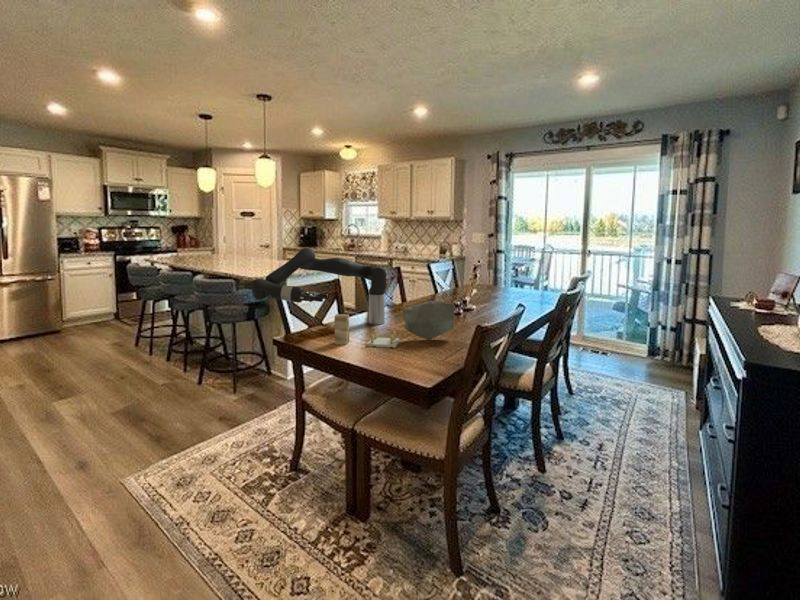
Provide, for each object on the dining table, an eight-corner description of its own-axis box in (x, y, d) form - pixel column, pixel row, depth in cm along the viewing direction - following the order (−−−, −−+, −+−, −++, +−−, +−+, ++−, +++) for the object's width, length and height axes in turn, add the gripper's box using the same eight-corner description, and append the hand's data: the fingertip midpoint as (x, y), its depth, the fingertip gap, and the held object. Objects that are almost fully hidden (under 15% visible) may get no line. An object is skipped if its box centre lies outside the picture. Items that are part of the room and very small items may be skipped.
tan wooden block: (337, 341, 215) (336, 314, 213) (349, 342, 214) (348, 314, 212) (335, 343, 211) (334, 315, 209) (346, 344, 210) (346, 316, 208)
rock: (403, 342, 215) (403, 302, 212) (401, 338, 221) (401, 300, 218) (455, 340, 219) (456, 301, 215) (452, 337, 225) (453, 299, 221)
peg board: (372, 339, 220) (372, 329, 219) (399, 340, 217) (399, 330, 216) (366, 346, 208) (366, 335, 207) (395, 347, 206) (395, 337, 205)
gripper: (287, 288, 202) (321, 292, 201) (297, 284, 216) (329, 288, 215) (286, 303, 203) (320, 308, 202) (296, 299, 217) (328, 303, 216)
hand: (325, 298), depth 209 cm, fingers open, 8 cm apart
